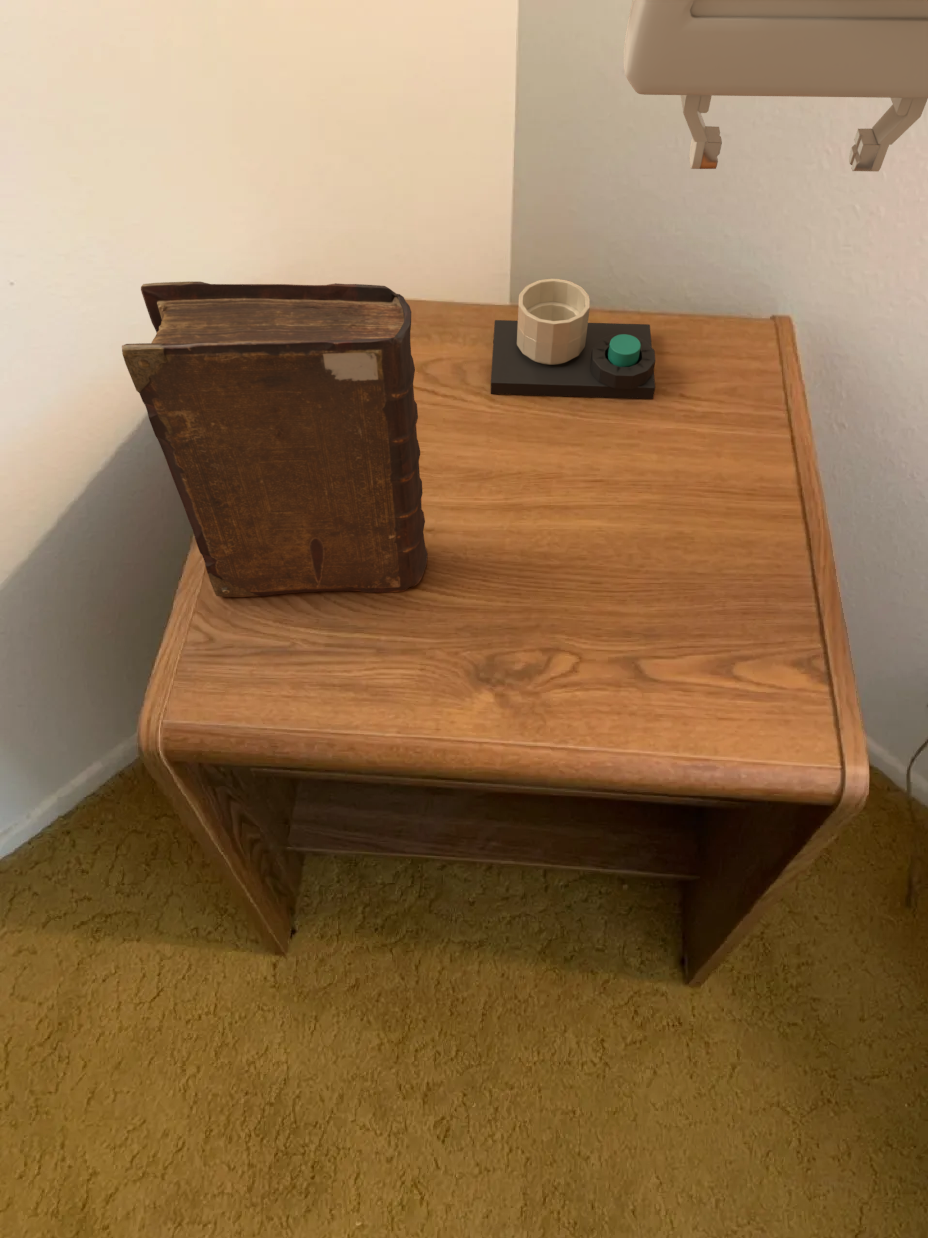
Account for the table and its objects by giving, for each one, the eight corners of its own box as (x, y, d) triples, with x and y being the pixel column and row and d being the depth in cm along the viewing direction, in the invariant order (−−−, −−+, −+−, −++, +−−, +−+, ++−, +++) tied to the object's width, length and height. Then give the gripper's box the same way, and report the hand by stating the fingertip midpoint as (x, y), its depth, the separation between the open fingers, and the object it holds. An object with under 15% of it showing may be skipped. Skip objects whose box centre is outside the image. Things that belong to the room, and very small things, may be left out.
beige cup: (583, 323, 89) (589, 279, 85) (584, 369, 86) (590, 324, 81) (517, 322, 90) (519, 277, 85) (515, 367, 86) (517, 322, 82)
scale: (647, 335, 90) (652, 310, 88) (653, 401, 85) (658, 376, 83) (494, 331, 91) (494, 305, 88) (490, 396, 86) (490, 371, 83)
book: (432, 544, 76) (415, 281, 55) (422, 615, 72) (400, 360, 51) (232, 532, 77) (142, 269, 56) (211, 601, 73) (107, 345, 52)
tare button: (637, 347, 85) (640, 334, 84) (639, 368, 84) (641, 354, 82) (607, 346, 85) (609, 333, 84) (608, 367, 84) (610, 353, 83)
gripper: (641, -95, 42) (607, 191, 54) (1102, -94, 41) (968, 198, 53) (635, -144, 46) (604, 134, 57) (1059, -144, 45) (942, 139, 56)
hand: (782, 165), depth 55 cm, fingers open, 8 cm apart
